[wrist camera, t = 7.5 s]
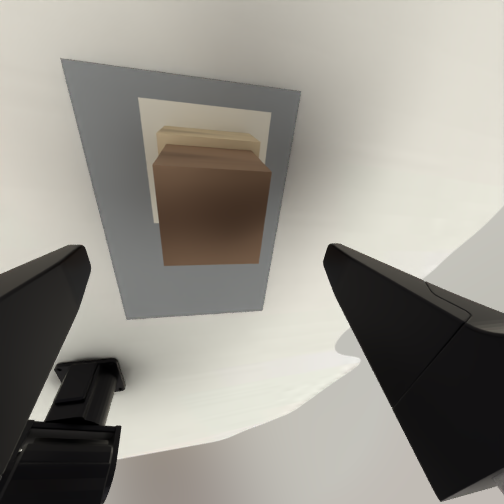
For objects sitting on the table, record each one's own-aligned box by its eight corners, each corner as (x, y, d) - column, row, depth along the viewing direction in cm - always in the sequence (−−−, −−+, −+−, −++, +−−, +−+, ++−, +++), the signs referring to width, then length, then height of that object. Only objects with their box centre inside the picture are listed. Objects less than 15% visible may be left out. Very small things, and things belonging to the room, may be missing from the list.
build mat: (261, 308, 29) (262, 311, 29) (127, 316, 26) (126, 320, 26) (299, 91, 17) (301, 91, 17) (63, 59, 14) (59, 58, 14)
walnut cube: (244, 223, 17) (258, 263, 13) (172, 222, 16) (163, 266, 12) (251, 150, 15) (271, 172, 11) (166, 144, 14) (152, 164, 10)
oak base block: (242, 208, 21) (250, 229, 18) (171, 206, 20) (165, 229, 16) (249, 133, 18) (260, 142, 15) (164, 125, 17) (156, 133, 13)
